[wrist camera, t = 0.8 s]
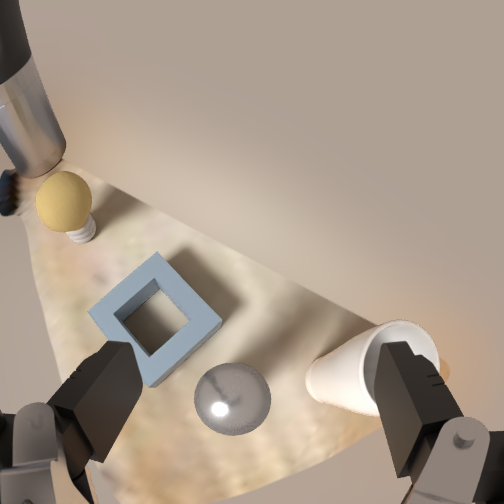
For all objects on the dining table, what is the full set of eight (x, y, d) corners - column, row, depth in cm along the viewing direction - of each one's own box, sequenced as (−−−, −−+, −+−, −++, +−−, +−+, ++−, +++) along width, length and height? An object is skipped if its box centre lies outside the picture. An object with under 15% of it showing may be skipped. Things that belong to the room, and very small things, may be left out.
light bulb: (54, 235, 34) (18, 191, 25) (88, 201, 37) (62, 151, 28) (81, 266, 33) (44, 224, 24) (117, 228, 36) (92, 178, 27)
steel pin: (196, 392, 29) (178, 398, 15) (224, 366, 31) (232, 347, 16) (224, 419, 28) (233, 450, 14) (252, 393, 30) (286, 398, 15)
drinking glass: (366, 375, 32) (454, 357, 18) (329, 422, 29) (406, 437, 16) (325, 336, 33) (396, 297, 20) (284, 382, 31) (337, 376, 17)
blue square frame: (98, 319, 31) (87, 311, 28) (162, 264, 34) (157, 251, 31) (155, 387, 29) (148, 387, 26) (221, 326, 32) (222, 319, 29)
